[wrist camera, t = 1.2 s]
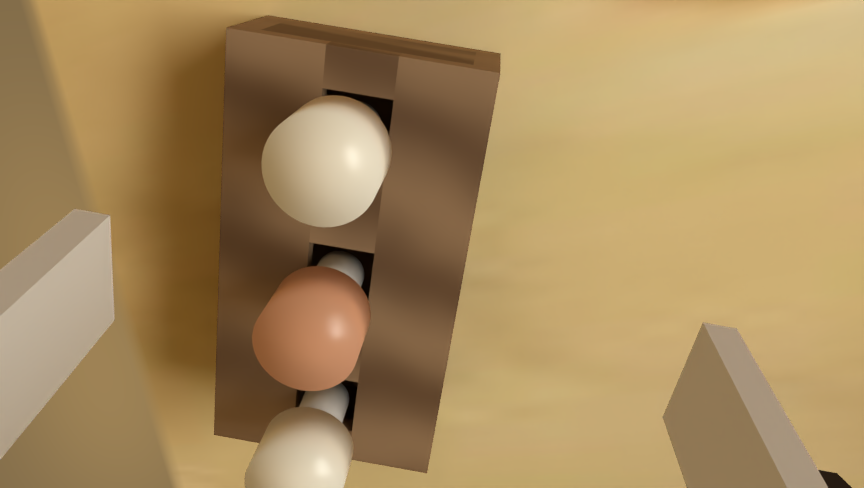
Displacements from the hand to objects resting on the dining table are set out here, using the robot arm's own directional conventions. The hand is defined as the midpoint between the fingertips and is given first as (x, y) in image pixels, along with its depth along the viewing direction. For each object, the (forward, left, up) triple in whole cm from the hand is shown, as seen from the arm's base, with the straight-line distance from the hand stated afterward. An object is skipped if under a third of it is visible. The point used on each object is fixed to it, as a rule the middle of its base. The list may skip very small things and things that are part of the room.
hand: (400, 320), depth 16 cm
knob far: (-16, +4, -18) cm, 24 cm away
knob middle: (-8, +4, -18) cm, 20 cm away
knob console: (-8, +4, -23) cm, 25 cm away
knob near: (-1, +4, -18) cm, 18 cm away
